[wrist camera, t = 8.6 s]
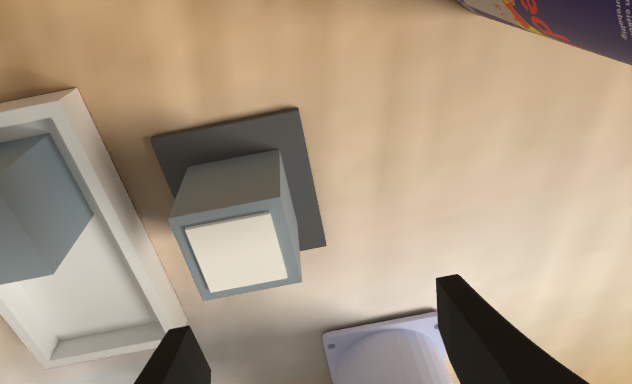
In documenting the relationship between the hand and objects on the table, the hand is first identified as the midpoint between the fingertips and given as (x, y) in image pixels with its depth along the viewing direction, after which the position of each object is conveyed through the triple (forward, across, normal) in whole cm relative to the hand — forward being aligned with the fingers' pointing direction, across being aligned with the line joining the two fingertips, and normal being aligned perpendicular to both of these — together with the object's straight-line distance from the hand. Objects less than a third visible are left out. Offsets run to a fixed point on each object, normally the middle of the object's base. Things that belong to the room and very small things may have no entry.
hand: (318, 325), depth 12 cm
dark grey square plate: (+10, +3, +1) cm, 11 cm away
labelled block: (+10, +3, +1) cm, 10 cm away
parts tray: (+10, +13, +2) cm, 17 cm away
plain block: (+10, +13, -2) cm, 16 cm away
